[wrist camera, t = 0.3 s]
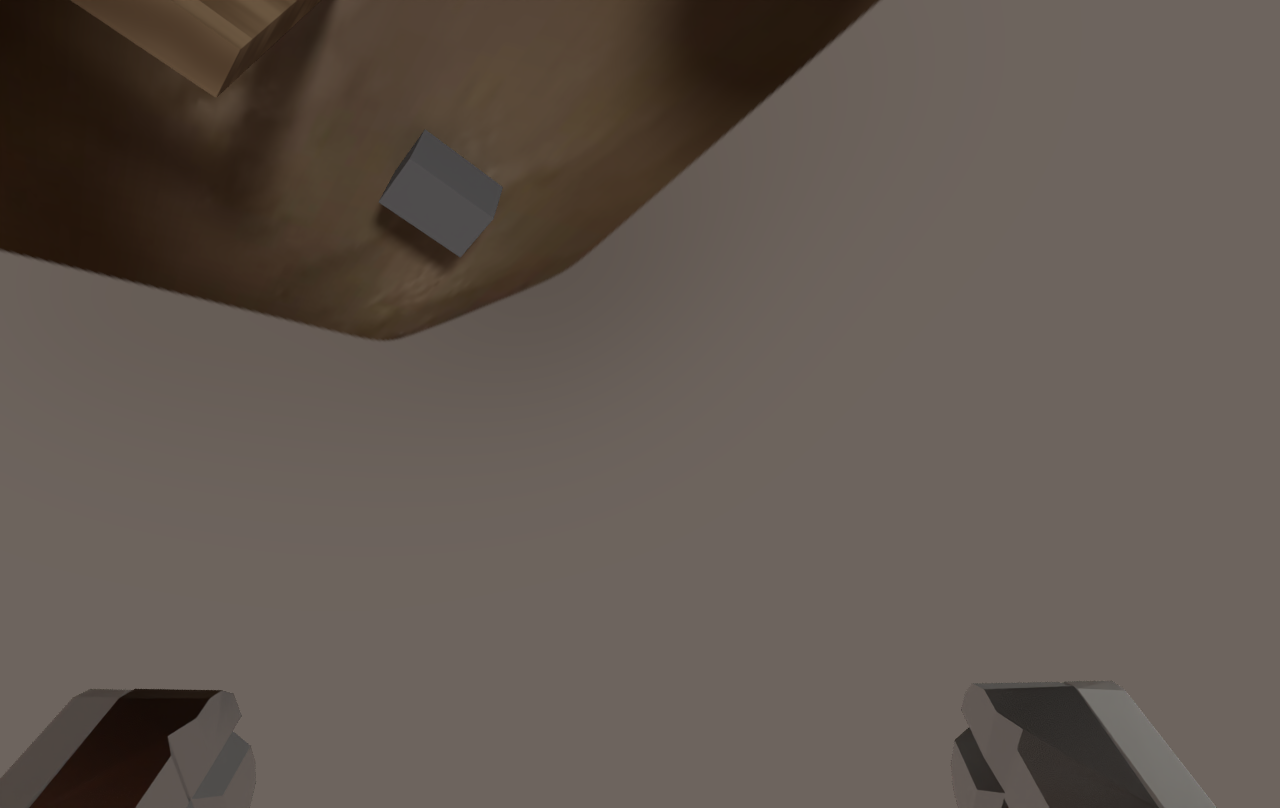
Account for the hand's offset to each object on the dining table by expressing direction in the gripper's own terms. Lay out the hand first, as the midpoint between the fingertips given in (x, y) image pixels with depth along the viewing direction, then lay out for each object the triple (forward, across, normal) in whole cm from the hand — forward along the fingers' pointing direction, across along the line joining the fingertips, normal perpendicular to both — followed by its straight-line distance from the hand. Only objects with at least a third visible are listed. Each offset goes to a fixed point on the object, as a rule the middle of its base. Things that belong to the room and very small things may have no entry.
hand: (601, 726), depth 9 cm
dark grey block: (+56, +14, +2) cm, 57 cm away
